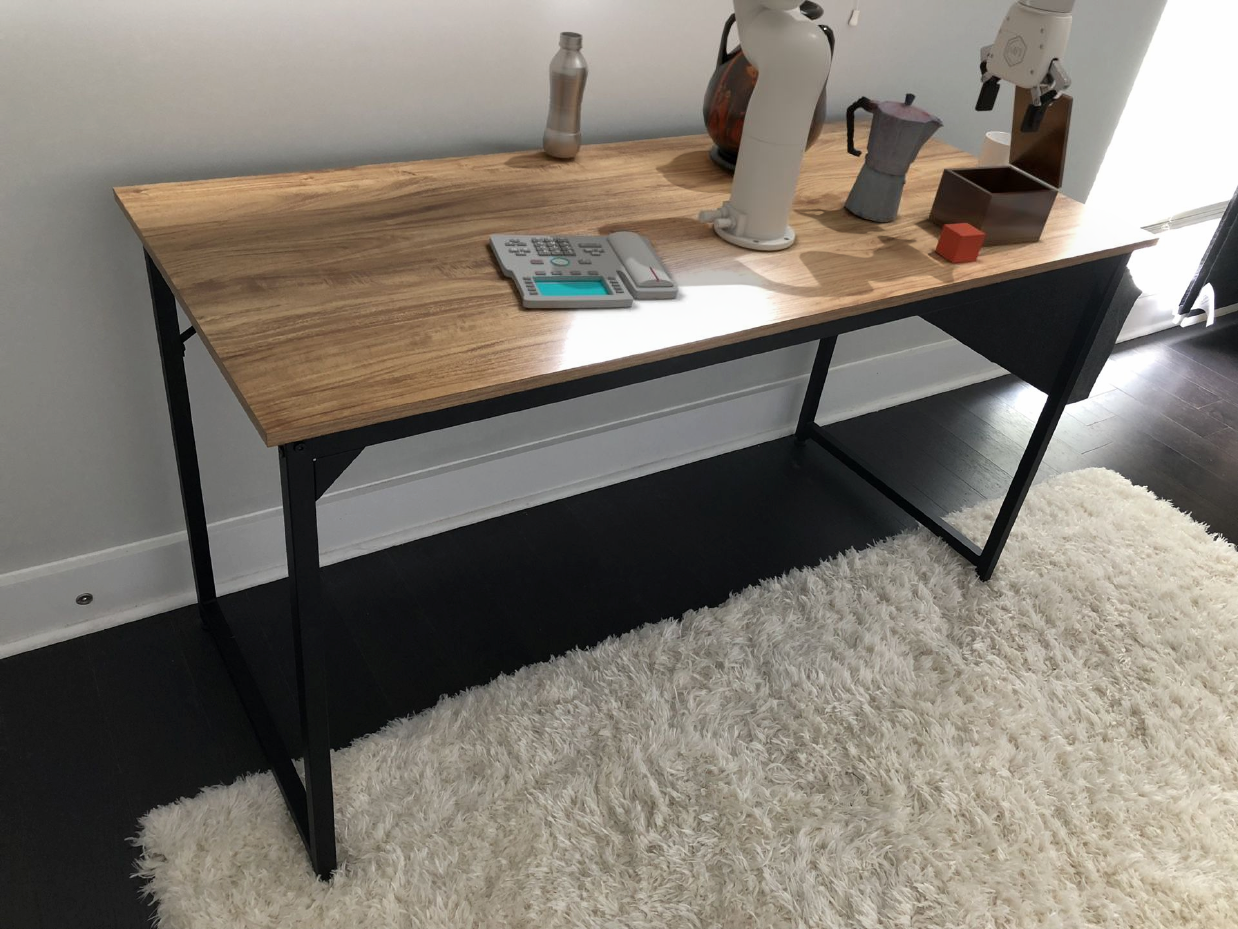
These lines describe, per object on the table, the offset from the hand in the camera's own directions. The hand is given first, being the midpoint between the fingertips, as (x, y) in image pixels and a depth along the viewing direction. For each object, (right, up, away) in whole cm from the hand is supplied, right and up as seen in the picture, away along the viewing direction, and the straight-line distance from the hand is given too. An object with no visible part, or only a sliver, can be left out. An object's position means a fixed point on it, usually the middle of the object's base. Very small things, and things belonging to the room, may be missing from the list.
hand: (1005, 120), depth 148 cm
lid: (+9, +1, +9) cm, 13 cm away
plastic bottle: (-69, +1, +22) cm, 72 cm away
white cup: (+10, -2, +34) cm, 36 cm away
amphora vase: (-35, +2, +29) cm, 45 cm away
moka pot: (-16, -10, +18) cm, 26 cm away
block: (-5, -19, +6) cm, 21 cm away
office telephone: (-63, -26, -15) cm, 70 cm away
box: (+3, -12, +17) cm, 22 cm away
